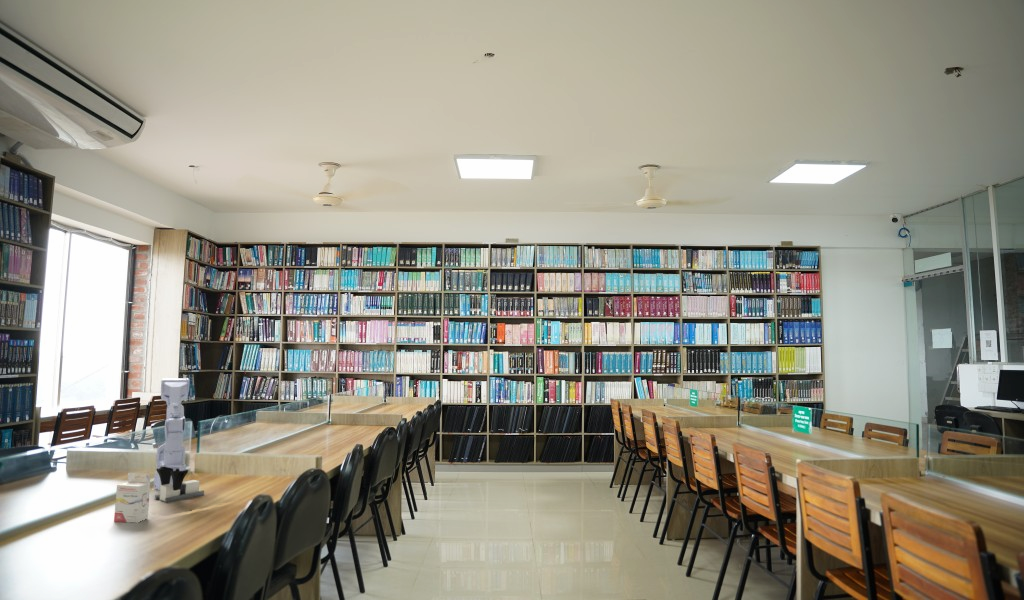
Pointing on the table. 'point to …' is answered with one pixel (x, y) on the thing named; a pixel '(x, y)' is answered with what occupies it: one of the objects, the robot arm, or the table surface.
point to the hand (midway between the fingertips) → (170, 488)
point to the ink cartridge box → (132, 499)
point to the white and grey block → (189, 486)
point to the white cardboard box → (168, 491)
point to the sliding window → (180, 496)
